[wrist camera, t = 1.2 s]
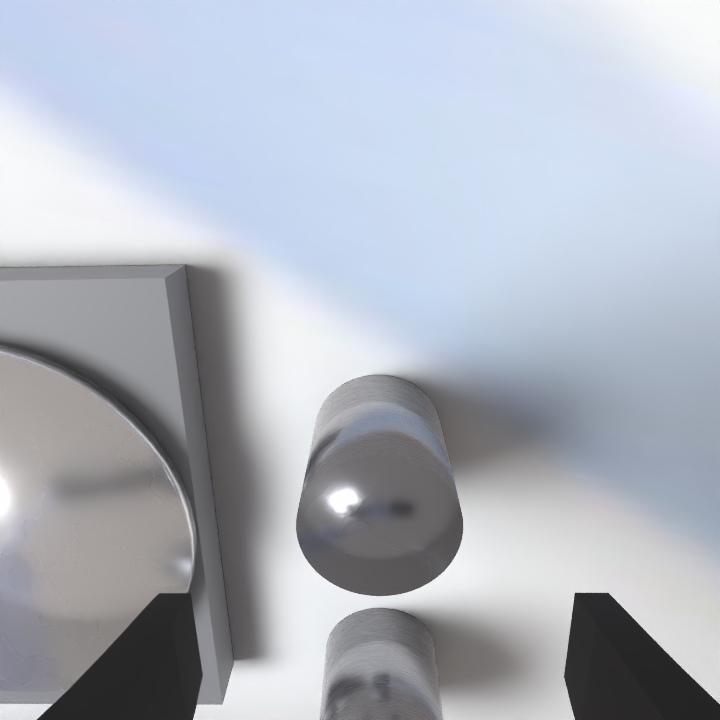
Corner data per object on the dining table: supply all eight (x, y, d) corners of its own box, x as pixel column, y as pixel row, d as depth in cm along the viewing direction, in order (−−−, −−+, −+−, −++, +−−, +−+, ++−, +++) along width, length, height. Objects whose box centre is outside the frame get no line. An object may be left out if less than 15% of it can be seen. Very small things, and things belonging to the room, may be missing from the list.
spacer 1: (439, 487, 20) (460, 596, 15) (317, 487, 20) (300, 595, 15) (442, 374, 18) (466, 455, 14) (312, 375, 18) (291, 456, 14)
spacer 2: (433, 691, 23) (448, 834, 18) (328, 690, 23) (316, 832, 18) (435, 607, 21) (453, 739, 17) (324, 607, 22) (310, 738, 17)
